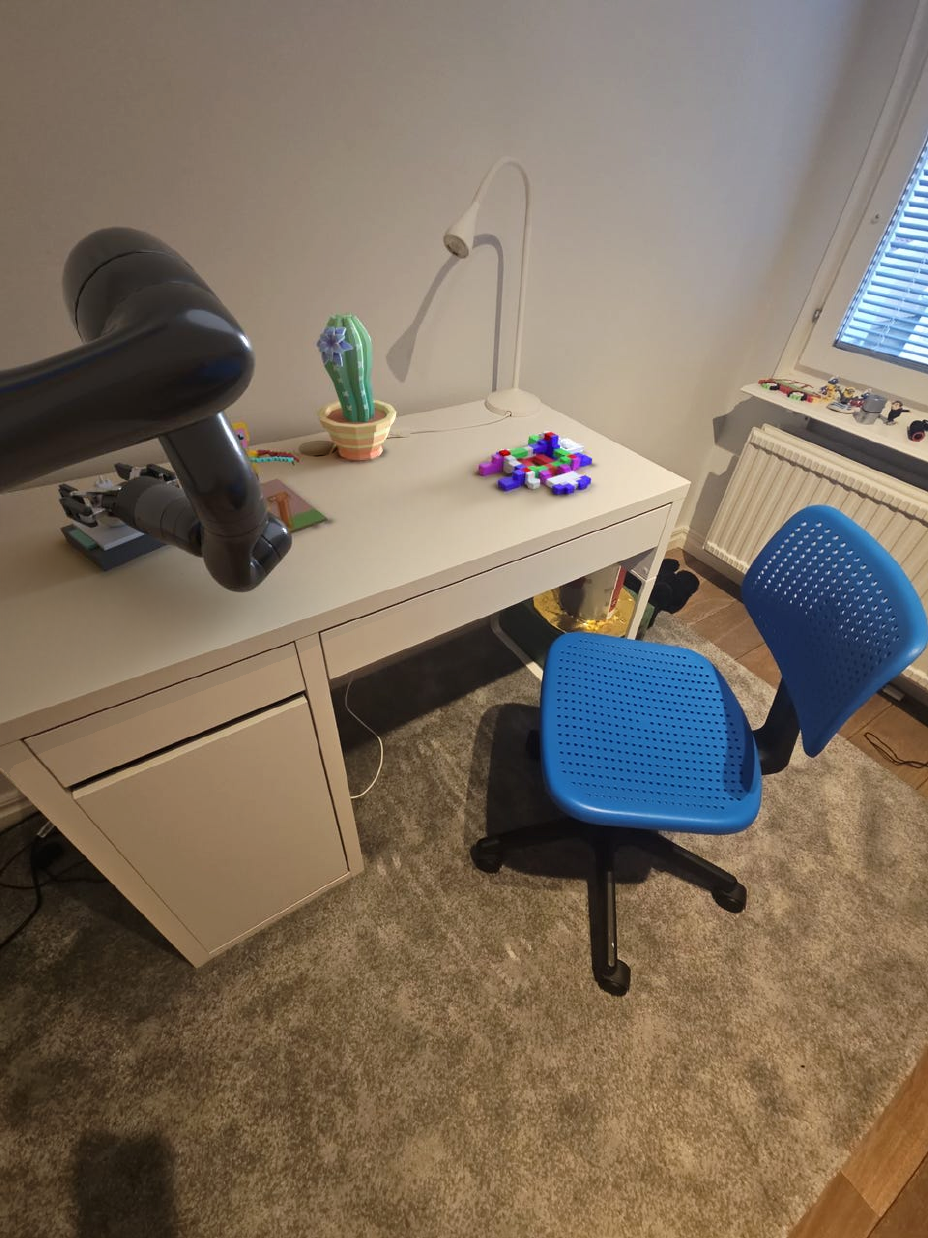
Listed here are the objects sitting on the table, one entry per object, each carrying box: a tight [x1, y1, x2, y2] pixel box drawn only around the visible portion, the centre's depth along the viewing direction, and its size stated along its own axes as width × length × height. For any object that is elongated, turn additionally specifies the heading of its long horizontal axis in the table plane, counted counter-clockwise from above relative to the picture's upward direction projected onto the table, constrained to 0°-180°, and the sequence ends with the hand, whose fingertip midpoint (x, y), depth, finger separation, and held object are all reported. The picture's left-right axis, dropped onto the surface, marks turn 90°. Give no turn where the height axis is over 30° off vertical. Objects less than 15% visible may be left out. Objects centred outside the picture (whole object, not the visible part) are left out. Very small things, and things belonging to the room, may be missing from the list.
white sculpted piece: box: [92, 474, 125, 527], centre depth 79 cm, size 5×7×8 cm
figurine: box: [231, 421, 328, 534], centre depth 87 cm, size 14×18×14 cm
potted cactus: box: [315, 312, 397, 461], centre depth 103 cm, size 15×15×25 cm
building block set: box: [477, 430, 593, 496], centre depth 106 cm, size 25×20×4 cm
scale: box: [59, 520, 168, 572], centre depth 83 cm, size 12×12×3 cm
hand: (91, 479), depth 78 cm, fingers open, 7 cm apart
